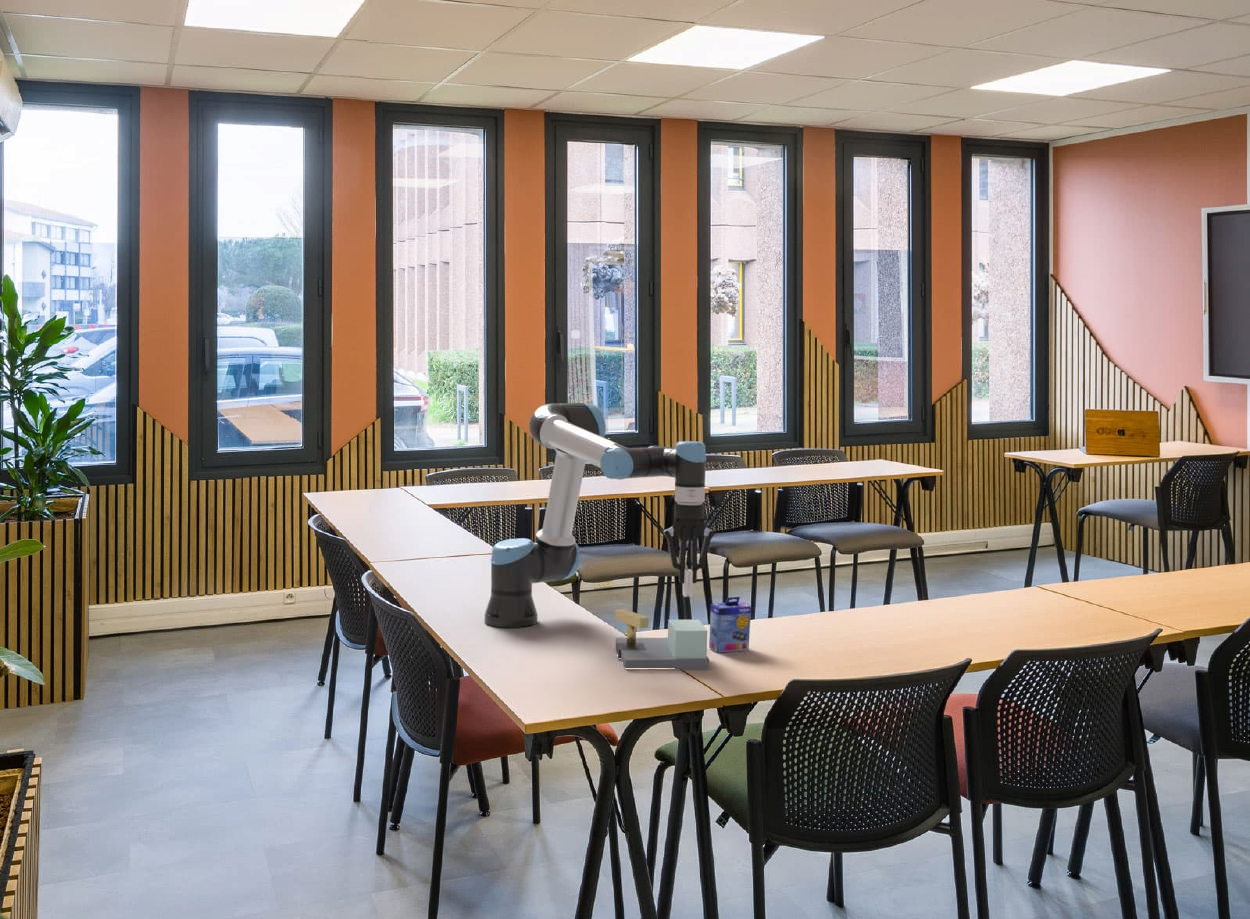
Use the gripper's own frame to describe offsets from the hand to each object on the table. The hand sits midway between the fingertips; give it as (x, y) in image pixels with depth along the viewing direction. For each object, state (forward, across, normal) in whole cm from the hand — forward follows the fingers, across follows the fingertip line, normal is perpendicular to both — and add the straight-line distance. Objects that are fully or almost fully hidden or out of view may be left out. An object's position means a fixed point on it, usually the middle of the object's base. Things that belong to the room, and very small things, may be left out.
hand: (687, 595), depth 294 cm
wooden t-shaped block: (+14, -13, +6) cm, 21 cm away
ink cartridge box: (+17, +14, +12) cm, 25 cm away
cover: (+15, 0, 0) cm, 15 cm away
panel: (+17, -6, +4) cm, 18 cm away
